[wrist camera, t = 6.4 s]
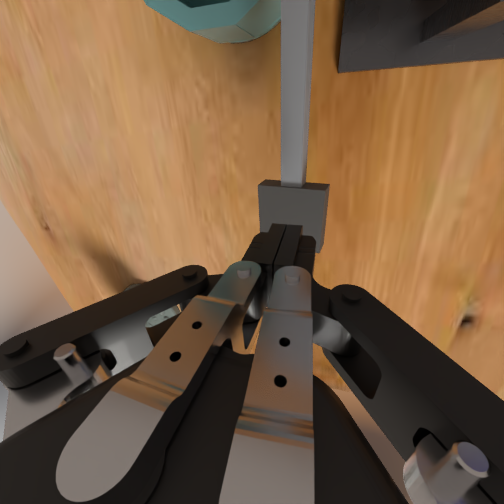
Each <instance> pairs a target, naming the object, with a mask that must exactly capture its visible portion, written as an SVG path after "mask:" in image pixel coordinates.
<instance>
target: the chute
mask: <svg viewBox="0 0 504 504" xmlns="http://www.w3.org/2000/svg"><path fill="white" fill-rule="evenodd" d="M314 16H315V0H281V181H280V180H266V179H265V180H264V181H263V182H261V183H260V184H259V185H258V198H259V218H260V232H268V231H269V229H270V227H271V225H272V223H276V224H287V225H288V224H291V225H303V235H307V236H313V237H314V239H315V240H316V251H315V253H320V251H321V249H322V246H323V244H324V234H325V225H326V215H327V206H328V196H329V187H330V184H321V183H307V182H306V168H307V149H308V130H309V111H310V92H311V73H312V54H313V35H314Z"/></svg>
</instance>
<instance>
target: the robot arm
mask: <svg viewBox="0 0 504 504" xmlns="http://www.w3.org/2000/svg"><path fill="white" fill-rule="evenodd" d="M315 251H316V240H315V239H314V237H313V236H307V235H303V225H291V224H288V225H287V224H276V223H272V225H271V227H270V229H269V231H268V232H260V233H259V234H257V235H256V236H255V237H254V238H253V240H252V242H251V244H250V246H249V248H248V249H247V251H246V253H245V255H244V257H243V258H242V260H241V261H239V262H236V263H234V264H232V265H230V266H229V267H228V269H227V270H226V271H225V273H224V274H218V275H208V274H207V270H206V269H205V268H204V267H202V266H199V265H189V266H185V267H182V268H180V269H178V270H175V271H173V272H170V273H168V274H165V275H163V276H160V277H158V278H156V279H153V280H151V281H148V282H146V283H143V284H141V285H138V286H136V287H134V288H131V289H129V290H126V291H124V292H121V293H119V294H116V295H114V296H112V297H109V298H107V299H104V300H102V301H99V302H97V303H94V304H92V305H90V306H87V307H85V308H82V309H80V310H77V311H75V312H72V313H70V314H68V315H65V316H63V317H61V318H58V319H55V320H53V321H51V322H48V323H46V324H43V325H41V326H38V327H36V328H34V329H31V330H29V331H26V332H24V333H21V334H19V335H17V336H14V337H12V338H11V339H9V340H7V341H6V342H4V343H3V344H1V345H0V381H1V382H2V383H3V385H4V387H5V388H6V389H7V390H8V391H9V394H8V402H7V411H6V420H5V429H4V437H3V441H2V442H1V443H0V504H409V503H408V502H407V500H406V499H405V497H404V496H403V494H402V493H401V491H400V490H399V488H398V487H397V485H396V484H395V482H394V481H393V479H392V478H391V476H390V474H389V473H388V472H387V470H386V468H385V467H384V465H383V464H382V462H381V461H380V459H379V458H378V456H377V455H376V453H375V452H374V450H373V449H372V447H371V445H370V444H369V442H368V441H367V439H366V438H365V436H364V435H363V433H362V432H361V430H360V429H359V427H358V426H357V424H356V423H355V421H354V420H353V418H352V416H351V415H350V413H349V412H348V410H347V409H346V408H345V406H344V404H343V403H342V401H341V400H340V398H339V397H338V396H337V395H336V394H335V392H334V391H333V390H332V389H331V388H330V387H329V386H328V385H327V384H325V383H324V382H323V381H322V380H320V379H319V378H318V377H316V376H314V375H313V343H315V344H317V345H319V346H321V347H322V350H323V353H324V355H325V356H326V358H327V359H328V360H329V362H330V363H331V364H332V366H333V367H334V368H335V370H336V371H337V372H338V373H339V375H340V376H341V377H342V379H343V380H344V381H345V383H346V384H347V385H348V387H349V388H350V389H351V391H352V392H353V393H354V395H355V396H356V397H357V398H358V400H359V401H360V402H361V404H362V405H363V406H364V408H365V409H366V410H367V412H368V413H369V414H370V416H371V417H372V418H373V420H374V421H375V422H376V424H377V425H378V426H379V427H380V429H381V430H382V431H383V433H384V434H385V435H386V437H387V438H388V439H389V441H390V442H391V443H392V444H393V446H394V447H395V449H396V450H397V451H398V452H399V454H400V455H401V456H402V458H403V459H404V460H405V461H406V463H405V466H404V471H403V476H404V483H405V486H406V490H407V492H408V494H409V497H410V499H411V500H412V502H413V504H504V401H503V400H502V399H500V398H499V397H498V396H497V395H495V394H494V393H493V392H492V391H490V390H489V389H488V388H487V387H485V386H484V385H483V384H482V383H481V382H479V381H478V380H477V379H476V378H474V377H473V376H472V375H471V374H469V373H468V372H467V371H466V370H464V369H463V368H462V367H461V366H459V365H458V364H457V363H456V362H454V361H453V360H452V359H451V358H449V357H448V356H447V355H446V354H445V353H443V352H442V351H441V350H440V349H438V348H437V347H436V346H435V345H433V344H432V343H431V342H430V341H428V340H427V339H426V338H425V337H423V336H422V335H421V334H420V333H418V332H417V331H416V330H415V329H413V328H412V327H411V326H410V325H408V324H407V323H406V322H405V321H404V320H402V319H401V318H400V317H399V316H397V315H396V314H395V313H394V312H392V311H391V310H390V309H389V308H387V307H386V306H385V305H384V304H382V303H381V302H380V301H379V300H377V299H376V298H375V297H374V296H372V295H371V294H370V293H369V292H367V291H366V290H365V289H363V288H361V287H358V286H355V285H349V284H343V285H338V286H336V287H334V288H333V289H332V290H330V289H327V288H325V287H323V286H321V285H319V284H318V283H317V282H316V281H315V280H314V278H313V271H314V261H315ZM178 304H179V305H180V308H181V313H179V314H177V315H175V316H173V317H171V318H169V319H167V320H165V321H163V322H161V323H159V324H157V325H155V326H153V327H145V325H146V322H147V321H148V320H149V319H150V318H151V317H153V316H155V315H157V314H159V313H161V312H163V311H165V310H167V309H169V308H171V307H173V306H176V305H178ZM266 307H268V308H266ZM259 330H260V331H259ZM258 333H259V336H258V340H257V345H256V349H255V354H250V352H251V349H252V347H253V345H254V342H255V340H256V337H257V335H258Z"/></svg>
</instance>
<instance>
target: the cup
mask: <svg viewBox="0 0 504 504" xmlns="http://www.w3.org/2000/svg"><path fill="white" fill-rule="evenodd" d="M144 2H145V3H146V5H147V6H149V7H151V8H152V9H154V10H156V11H157V12H159V13H160V14H162V15H164V16H165V17H167V18H169V19H170V20H172V21H173V22H175V23H177V24H178V25H180V26H182V27H183V28H185V29H186V30H188V31H190V32H192V33H195V34H197V35H200V36H202V37H205V38H207V39H210V40H212V41H215V42H217V43H244V42H249V41H252V40H255V39H257V38H259V37H261V36H263V35H264V34H266V33H268V32H269V31H270V30H271V29H273V28H274V27H275V26H276V25H277V24H278V23H279V22H280V21H281V0H144Z"/></svg>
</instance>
